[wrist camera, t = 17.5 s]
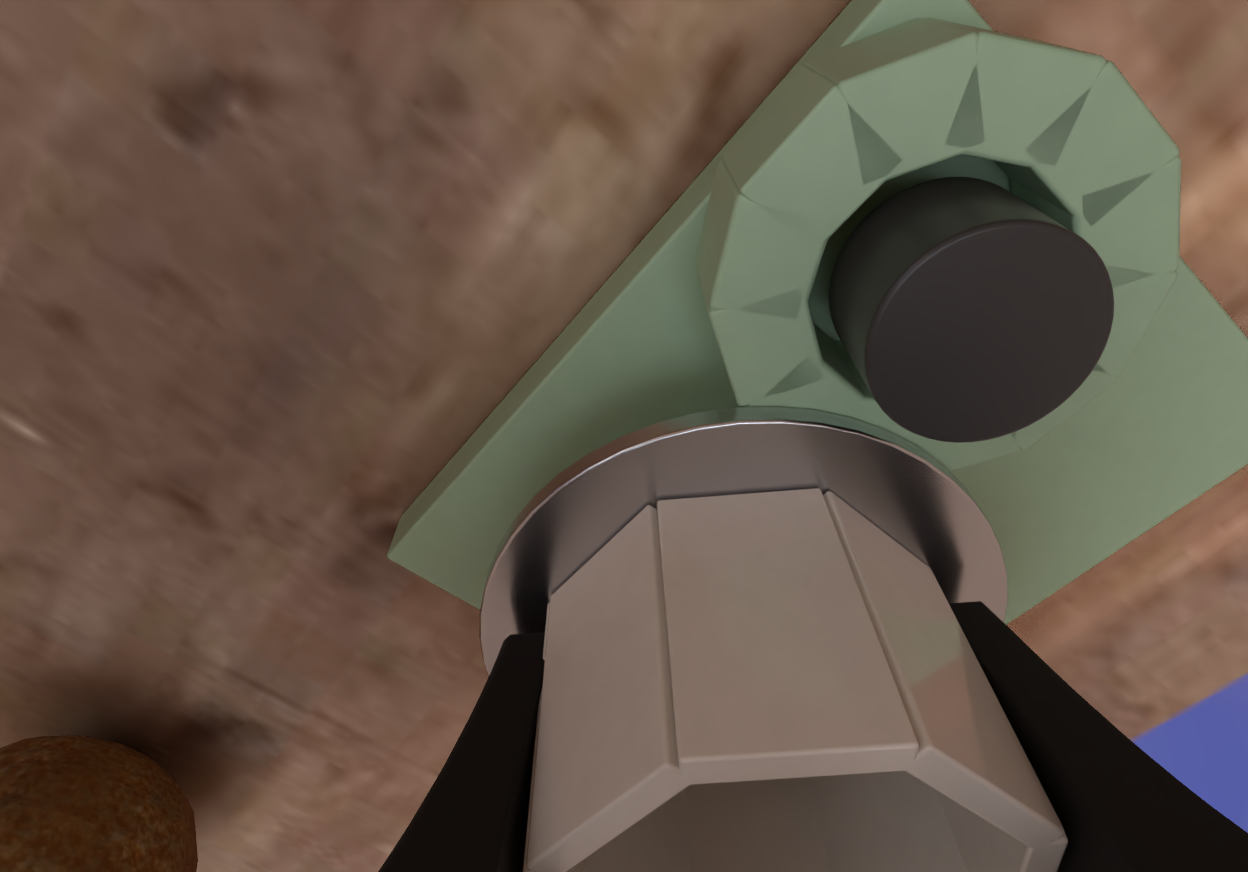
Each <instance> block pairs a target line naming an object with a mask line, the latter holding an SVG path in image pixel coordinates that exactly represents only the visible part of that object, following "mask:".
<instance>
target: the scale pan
mask: <svg viewBox="0 0 1248 872" xmlns="http://www.w3.org/2000/svg"><path fill="white" fill-rule="evenodd" d="M812 488H819V489H821V491H822V494H825V493H826V492H827V491H830V492H832V493H833V494H835V495H836V496H837V497H838V498H840V499H841V500H842V501H844V502H845V503H846V504H848V505H849V506H850V507H851V508H853V509H854V510H855V511H857V512H858V513H859V514H861V515H862V516H863V517H864V518H866V519H867V520H868V521H870V522H871V523H872V524H874V525H875V526H876V527H877V528H879V529H880V530H881V531H883V532H884V533H885V534H887V535H888V536H889V537H890V538H892V539H893V540H894V541H896V542H897V543H898V544H900V545H901V546H902V547H903V548H905V549H906V550H907V551H909V552H910V553H911V554H913V555H914V556H915V557H916V558H918V559H919V560H920V561H922V562H923V563H924V564H926V565H927V566H928V567H929V568H931V570H932V572H933V574H934V576H935V578H936V580H937V582H938V584H939V586H940V588H941V590H942V592H943V593H944V595H945V597H946V599H947V601H948V603H961V602H975V601H981V602H982V603H983V604H985V605H986V606H987V607H988V608H989V609H990V610H991V611H992V612H993V613H994V614H995V615H996V616H997V617H998V618H999V619H1000V620H1001V621H1002V622H1003V623H1004V622H1005V615H1006V608H1007V602H1008V592H1007V571H1006V567H1005V563H1004V558H1003V554H1002V550H1001V546H1000V544H999V542H998V540H997V537H996V535H995V533H994V531H993V529H992V526H991V524H990V522H989V521H988V519H987V518H986V516H985V514H984V513H983V511H982V510H981V508H980V507H979V506H978V504H977V503H976V501H975V500H974V498H973V497H972V495H971V494H970V493H969V491H968V490H967V488H966V487H965V486H964V485H963V484H962V483H961V482H960V481H959V480H958V479H957V478H956V477H955V476H954V475H953V474H952V473H951V472H950V471H949V470H948V469H947V468H946V467H945V466H944V465H943V464H942V463H940V462H939V461H938V460H936V459H935V458H934V457H932V456H931V455H929V454H928V453H927V452H925V451H924V450H922V449H921V448H920V447H918V446H917V445H915V444H913V443H911V442H909V441H907V440H905V439H903V438H901V437H899V436H897V435H895V434H893V433H891V432H889V431H888V430H885V429H882V428H879V427H876V426H874V425H871V424H868V423H865V422H862V421H859V420H857V419H854V418H850V417H846V416H841V415H836V414H832V413H827V412H822V411H818V410H811V409H800V408H789V407H778V406H767V407H734V408H727V409H719V410H712V411H705V412H697V413H693V414H689V415H685V416H681V417H677V418H673V419H669V420H665V421H661V422H658V423H655V424H652V425H650V426H647V427H644V428H642V429H639V430H636V431H634V432H631V433H628V434H626V435H623V436H621V437H619V438H617V439H615V440H613V441H611V442H609V443H607V444H605V445H603V446H601V447H600V448H598V449H596V450H594V451H592V452H590V453H588V454H587V455H585V456H584V457H582V458H581V459H579V460H578V461H576V462H575V463H574V464H572V465H571V466H569V467H568V468H566V469H565V470H563V471H562V472H560V473H559V474H558V475H557V476H556V477H555V478H554V479H552V480H551V481H550V482H549V483H548V484H547V485H546V486H545V487H544V488H542V489H541V490H540V491H539V492H538V493H537V494H536V495H535V496H534V497H533V498H532V499H531V500H530V501H529V503H528V504H527V505H526V506H525V507H524V509H523V510H522V511H521V512H520V513H519V515H518V516H517V517H516V518H515V519H514V521H513V522H512V524H511V525H510V527H509V529H508V530H507V532H506V534H505V535H504V537H503V539H502V540H501V542H500V544H499V545H498V548H497V550H496V553H495V555H494V558H493V560H492V563H491V565H490V568H489V570H488V574H487V579H486V583H485V588H484V593H483V598H482V603H481V608H480V632H479V637H480V643H481V649H482V655H483V661H484V663H485V666H486V669H487V672H488V675H490V673H491V671H492V668H493V666H494V664H495V661H496V659H497V657H498V654H499V651H500V649H501V646H502V644H503V641H504V640H505V639H506V638H507V637H508V636H509V635H511V634H525V633H540V632H545V625H546V614H547V605H548V603H550V597H551V595H552V594H553V593H554V592H555V591H557V590H558V589H559V588H560V587H561V586H562V585H563V584H564V583H565V582H566V581H567V580H568V579H569V578H570V577H571V576H572V575H574V574H575V573H576V572H577V571H578V570H579V569H580V568H581V567H582V566H583V565H584V564H585V563H586V562H587V561H588V560H590V559H591V558H592V557H593V556H594V555H595V554H596V553H597V552H598V551H599V550H600V549H601V548H602V547H603V546H604V545H606V544H607V543H608V542H609V541H610V540H611V539H612V538H613V537H614V536H615V535H616V534H617V533H618V532H619V531H620V530H622V529H623V528H624V527H625V526H626V525H627V524H628V523H629V522H630V521H631V520H632V519H633V518H634V517H635V516H636V515H637V514H639V513H640V512H641V511H642V510H643V509H644V508H645V507H646V506H647V505H651V506H653V507H654V508H656V509H657V505H656V504H657V502H658V501H659V500H667V499H680V498H694V497H707V496H720V495H733V494H746V493H759V492H772V491H785V490H799V489H812Z"/></svg>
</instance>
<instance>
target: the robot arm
mask: <svg viewBox="0 0 1248 872" xmlns="http://www.w3.org/2000/svg"><path fill="white" fill-rule="evenodd" d="M949 605H950V607H951V609H952V611H953V613H954V615H955V617H956V619H957V621H958V623H959V625H960V627H961V629H962V631H963V633H964V635H965V636H966V638H967V640H968V642H969V644H970V646H971V648H972V650H973V652H974V654H975V656H976V658H977V660H978V662H979V664H980V666H981V668H982V670H983V672H984V674H985V676H986V678H987V680H988V681H989V683H990V685H991V687H992V689H993V691H994V693H995V695H996V697H997V699H998V701H999V703H1000V705H1001V707H1002V709H1003V711H1004V713H1005V715H1006V717H1007V719H1008V721H1009V723H1010V724H1011V726H1012V728H1013V730H1014V732H1015V734H1016V736H1017V738H1018V740H1019V742H1020V744H1021V746H1022V748H1023V750H1024V752H1025V754H1026V756H1027V758H1028V760H1029V762H1030V764H1031V766H1032V768H1033V769H1034V771H1035V773H1036V775H1037V777H1038V779H1039V781H1040V783H1041V785H1042V787H1043V789H1044V791H1045V793H1046V795H1047V797H1048V799H1049V801H1050V803H1051V805H1052V807H1053V809H1054V811H1055V813H1056V814H1057V816H1058V818H1059V820H1060V822H1061V824H1062V826H1063V828H1064V830H1065V834H1066V836H1067V838H1068V845H1067V847H1066V850H1065V853H1064V855H1063V858H1062V861H1061V863H1060V866H1059V868H1058V871H1057V872H1248V833H1247V832H1245V831H1244V830H1243V829H1241V828H1240V827H1239V826H1237V825H1236V824H1234V823H1233V822H1232V821H1230V820H1229V819H1228V818H1226V817H1225V816H1223V815H1222V814H1221V813H1219V812H1218V811H1217V810H1215V809H1214V808H1213V807H1211V806H1210V805H1209V804H1207V803H1206V802H1205V801H1204V800H1202V799H1201V798H1200V797H1199V796H1197V795H1196V794H1195V793H1193V792H1192V791H1191V790H1189V789H1188V788H1187V787H1186V786H1185V785H1183V784H1182V783H1181V782H1180V781H1178V780H1177V779H1176V778H1175V777H1174V776H1172V775H1171V774H1170V773H1169V772H1167V771H1166V770H1165V769H1164V768H1163V767H1161V766H1160V765H1159V764H1158V763H1157V762H1155V761H1154V760H1153V759H1152V758H1150V757H1149V756H1148V755H1147V754H1146V753H1145V752H1143V751H1142V750H1141V749H1140V748H1139V747H1137V746H1136V745H1135V744H1134V743H1133V742H1132V741H1131V740H1129V739H1128V738H1127V737H1126V736H1125V735H1124V734H1123V733H1121V732H1120V731H1119V730H1118V729H1117V728H1116V727H1115V726H1113V725H1112V724H1111V723H1110V722H1109V721H1108V720H1107V719H1106V718H1105V717H1103V716H1102V715H1101V714H1100V713H1099V712H1098V711H1097V710H1096V709H1095V708H1093V707H1092V706H1091V705H1090V704H1089V703H1088V702H1087V701H1086V700H1085V699H1083V698H1082V697H1081V696H1080V695H1079V694H1078V693H1077V692H1076V691H1075V690H1074V689H1073V688H1071V687H1070V686H1069V685H1068V684H1067V683H1066V682H1065V681H1064V680H1063V679H1062V678H1061V677H1060V676H1059V675H1058V674H1056V673H1055V672H1054V671H1053V670H1052V669H1051V668H1050V667H1049V666H1048V665H1047V664H1046V663H1045V662H1044V661H1043V660H1042V659H1041V658H1040V657H1039V656H1038V655H1037V654H1035V653H1034V652H1033V651H1032V650H1031V649H1030V648H1029V647H1028V646H1027V645H1026V644H1025V643H1024V642H1023V641H1022V640H1021V639H1020V638H1019V637H1018V636H1017V635H1016V634H1015V633H1014V632H1013V631H1012V630H1011V629H1010V628H1009V627H1008V626H1007V625H1006V624H1005V623H1003V622H1002V621H1001V620H1000V619H999V618H998V617H997V616H996V615H995V614H994V613H993V612H992V611H991V610H990V609H989V608H988V607H987V606H986V605H985V604H983V603H982V602H981V601H975V602H961V603H949ZM544 635H545V632H540V633H525V634H511V635H509V636H508V637H507V638H506V639H505V640H504V641H503V644H502V646H501V649H500V651H499V654H498V657H497V659H496V661H495V664H494V666H493V668H492V671H491V673H490V675H489V678H488V680H487V682H486V684H485V686H484V689H483V691H482V693H481V695H480V697H479V699H478V701H477V703H476V705H475V707H474V709H473V712H472V714H471V716H470V718H469V720H468V722H467V723H466V725H465V727H464V729H463V731H462V733H461V735H460V737H459V739H458V741H457V742H456V744H455V746H454V748H453V750H452V752H451V754H450V756H449V758H448V759H447V761H446V763H445V765H444V767H443V769H442V770H441V772H440V774H439V776H438V777H437V779H436V781H435V782H434V784H433V786H432V787H431V789H430V791H429V792H428V794H427V796H426V797H425V799H424V801H423V802H422V804H421V806H420V808H419V809H418V811H417V813H416V814H415V816H414V818H413V819H412V821H411V823H410V824H409V826H408V827H407V829H406V831H405V832H404V834H403V835H402V837H401V838H400V840H399V841H398V843H397V845H396V846H395V848H394V849H393V851H392V852H391V854H390V855H389V857H388V858H387V860H386V861H385V863H384V864H383V866H382V867H381V869H380V870H379V871H378V872H523V861H524V850H525V839H526V829H527V818H528V807H529V796H530V786H531V775H532V764H533V754H534V743H535V732H536V721H537V713H538V706H539V700H540V695H541V690H542V684H543V673H544V661H545V660H544V659H543V646H544Z"/></svg>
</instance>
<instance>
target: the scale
mask: <svg viewBox="0 0 1248 872" xmlns="http://www.w3.org/2000/svg"><path fill="white" fill-rule="evenodd" d="M1179 153H1180V151H1179V148H1178V146H1177V145H1176V144H1175V142H1174V141H1173V140H1172V138H1171V137H1170V136H1169V135H1168V133H1167V132H1166V131H1165V129H1164V128H1163V127H1162V125H1161V124H1160V123H1159V122H1158V120H1157V119H1156V118H1155V116H1154V115H1153V114H1152V112H1151V111H1150V110H1149V109H1148V107H1147V106H1146V105H1145V103H1144V102H1143V101H1142V99H1141V98H1140V97H1139V96H1138V94H1137V93H1136V92H1135V90H1134V89H1133V88H1132V86H1131V85H1130V84H1129V83H1128V81H1127V80H1126V79H1125V77H1124V76H1123V75H1122V73H1121V72H1120V71H1119V70H1118V68H1117V67H1116V66H1115V64H1114V63H1113V62H1111V61H1109V60H1105V59H1104V58H1103V57H1102V56H1101V55H1097V54H1093V53H1088V52H1084V51H1080V50H1076V49H1071V48H1067V47H1063V46H1059V45H1054V44H1050V43H1046V42H1042V41H1037V40H1033V39H1029V38H1024V37H1019V36H1015V35H1010V34H1005V33H1000V32H996V31H993V30H992V28H991V27H990V26H989V25H988V24H987V22H986V21H985V20H984V19H983V18H982V16H981V15H980V14H979V13H978V12H977V10H976V9H975V8H974V7H973V6H972V4H971V3H970V2H969V1H968V0H852V1H851V2H850V3H849V4H848V5H847V6H846V7H845V9H844V10H843V11H842V12H841V13H840V14H839V15H838V17H837V18H836V19H835V20H834V21H833V22H832V23H831V25H830V26H829V27H828V28H827V29H826V30H825V31H824V33H823V34H822V35H821V36H820V37H819V38H818V39H817V41H816V42H815V43H814V44H813V45H812V46H811V47H810V49H809V50H808V51H807V52H806V53H805V54H804V55H803V57H802V58H801V59H800V60H799V61H798V62H797V63H796V65H795V66H794V67H793V68H792V69H791V70H790V72H789V73H788V74H787V75H786V76H785V77H784V78H783V80H782V81H781V82H780V83H779V84H778V85H777V86H776V88H775V89H774V90H773V91H772V92H771V93H770V94H769V96H768V97H767V98H766V99H765V100H764V101H763V102H762V104H761V105H760V106H759V107H758V108H757V109H756V110H755V112H754V113H753V114H752V115H751V116H750V117H749V118H748V120H747V121H746V122H745V123H744V124H743V125H742V126H741V128H740V129H739V130H738V131H737V132H736V133H735V134H734V136H733V137H732V138H731V139H730V140H729V141H728V142H727V144H726V145H725V146H724V147H723V148H722V149H721V151H720V152H719V153H718V154H717V155H716V156H715V157H714V159H713V160H712V161H711V162H710V163H709V164H708V165H707V167H706V168H705V169H704V170H703V171H702V172H701V173H700V175H699V176H698V177H697V178H696V179H695V180H694V181H693V183H692V184H691V185H690V186H689V187H688V188H687V189H686V191H685V192H684V193H683V194H682V195H681V196H680V197H679V199H678V200H677V201H676V202H675V203H674V204H673V205H672V207H671V208H670V209H669V210H668V211H667V212H666V213H665V215H664V216H663V217H662V218H661V219H660V220H659V221H658V223H657V224H656V225H655V226H654V227H653V228H652V230H651V231H650V232H649V233H648V234H647V235H646V236H645V238H644V239H643V240H642V241H641V242H640V243H639V244H638V246H637V247H636V248H635V249H634V250H633V251H632V252H631V254H630V255H629V256H628V257H627V258H626V259H625V260H624V262H623V263H622V264H621V265H620V266H619V267H618V268H617V270H616V271H615V272H614V273H613V274H612V275H611V276H610V278H609V279H608V280H607V281H606V282H605V283H604V284H603V286H602V287H601V288H600V289H599V290H598V291H597V292H596V294H595V295H594V296H593V297H592V298H591V299H590V300H589V302H588V303H587V304H586V305H585V306H584V307H583V309H582V310H581V311H580V312H579V313H578V314H577V315H576V317H575V318H574V319H573V320H572V321H571V322H570V323H569V325H568V326H567V327H566V328H565V329H564V330H563V331H562V333H561V334H560V335H559V336H558V337H557V338H556V339H555V341H554V342H553V343H552V344H551V345H550V346H549V347H548V349H547V350H546V351H545V352H544V353H543V354H542V355H541V357H540V358H539V359H538V360H537V361H536V362H535V363H534V365H533V366H532V367H531V368H530V369H529V370H528V371H527V373H526V374H525V375H524V376H523V377H522V378H521V379H520V381H519V382H518V383H517V384H516V385H515V386H514V388H513V389H512V390H511V391H510V392H509V393H508V394H507V396H506V397H505V398H504V399H503V400H502V401H501V402H500V404H499V405H498V406H497V407H496V408H495V409H494V410H493V412H492V413H491V414H490V415H489V416H488V417H487V418H486V420H485V421H484V422H483V423H482V424H481V425H480V426H479V428H478V429H477V430H476V431H475V432H474V433H473V434H472V436H471V437H470V438H469V439H468V440H467V441H466V442H465V444H464V445H463V446H462V447H461V448H460V449H459V450H458V452H457V453H456V454H455V455H454V456H453V457H452V458H451V460H450V461H449V462H448V463H447V464H446V465H445V467H444V468H443V469H442V470H441V471H440V472H439V473H438V475H437V476H436V477H435V478H434V479H433V480H432V481H431V483H430V484H429V485H428V486H427V487H426V488H425V489H424V491H423V492H422V493H421V494H420V495H419V496H418V497H417V499H416V500H415V501H414V502H413V503H412V504H411V505H410V507H409V508H408V509H407V510H406V511H405V512H404V513H403V515H402V516H401V518H400V520H399V523H398V526H397V529H396V531H395V534H394V537H393V540H392V542H391V545H390V548H389V551H388V554H387V558H388V559H390V560H392V561H393V562H395V563H397V564H399V565H401V566H402V567H404V568H406V569H408V570H409V571H411V572H413V573H415V574H417V575H418V576H420V577H422V578H424V579H426V580H427V581H429V582H431V583H433V584H435V585H436V586H438V587H440V588H442V589H443V590H445V591H447V592H449V593H451V594H452V595H454V596H456V597H458V598H460V599H461V600H463V601H465V602H467V603H468V604H470V605H472V606H474V607H476V608H477V609H479V610H480V608H481V603H482V598H483V593H484V588H485V583H486V579H487V574H488V570H489V568H490V565H491V563H492V560H493V558H494V555H495V553H496V550H497V548H498V545H499V544H500V542H501V540H502V539H503V537H504V535H505V534H506V532H507V530H508V529H509V527H510V525H511V524H512V522H513V521H514V519H515V518H516V517H517V516H518V515H519V513H520V512H521V511H522V510H523V509H524V507H525V506H526V505H527V504H528V503H529V501H530V500H531V499H532V498H533V497H534V496H535V495H536V494H537V493H538V492H539V491H540V490H541V489H542V488H544V487H545V486H546V485H547V484H548V483H549V482H550V481H551V480H552V479H554V478H555V477H556V476H557V475H558V474H559V473H560V472H562V471H563V470H565V469H566V468H568V467H569V466H571V465H572V464H574V463H575V462H576V461H578V460H579V459H581V458H582V457H584V456H585V455H587V454H588V453H590V452H592V451H594V450H596V449H598V448H600V447H601V446H603V445H605V444H607V443H609V442H611V441H613V440H615V439H617V438H619V437H621V436H623V435H626V434H628V433H631V432H634V431H636V430H639V429H642V428H644V427H647V426H650V425H652V424H655V423H658V422H661V421H665V420H669V419H673V418H677V417H681V416H685V415H689V414H693V413H697V412H705V411H712V410H719V409H727V408H734V407H767V406H778V407H789V408H800V409H811V410H818V411H822V412H827V413H832V414H836V415H841V416H846V417H850V418H854V419H857V420H859V421H862V422H865V423H868V424H871V425H874V426H876V427H879V428H882V429H885V430H888V431H889V432H891V433H893V434H895V435H897V436H899V437H901V438H903V439H905V440H907V441H909V442H911V443H913V444H915V445H917V446H918V447H920V448H921V449H922V450H924V451H925V452H927V453H928V454H929V455H931V456H932V457H934V458H935V459H936V460H938V461H939V462H940V463H942V464H943V465H944V466H945V467H946V468H947V469H948V470H949V471H950V472H951V473H952V474H953V475H954V476H955V477H956V478H957V479H958V480H959V481H960V482H961V483H962V484H963V485H964V486H965V487H966V488H967V490H968V491H969V493H970V494H971V495H972V497H973V498H974V500H975V501H976V503H977V504H978V506H979V507H980V508H981V510H982V511H983V513H984V514H985V516H986V518H987V519H988V521H989V522H990V524H991V526H992V529H993V531H994V533H995V535H996V537H997V540H998V542H999V544H1000V546H1001V550H1002V554H1003V558H1004V563H1005V567H1006V571H1007V592H1008V602H1007V608H1006V615H1005V622H1004V623H1005V624H1008V623H1009V622H1011V621H1012V620H1014V619H1016V618H1017V617H1019V616H1020V615H1022V614H1023V613H1025V612H1026V611H1028V610H1029V609H1031V608H1032V607H1034V606H1035V605H1037V604H1038V603H1040V602H1041V601H1043V600H1044V599H1046V598H1047V597H1049V596H1050V595H1052V594H1053V593H1055V592H1056V591H1058V590H1059V589H1061V588H1062V587H1064V586H1065V585H1067V584H1068V583H1070V582H1071V581H1073V580H1074V579H1076V578H1077V577H1079V576H1080V575H1082V574H1083V573H1085V572H1086V571H1088V570H1089V569H1091V568H1092V567H1094V566H1095V565H1097V564H1098V563H1100V562H1101V561H1103V560H1104V559H1106V558H1107V557H1109V556H1110V555H1112V554H1113V553H1115V552H1116V551H1118V550H1119V549H1121V548H1122V547H1124V546H1125V545H1127V544H1128V543H1130V542H1131V541H1133V540H1134V539H1136V538H1137V537H1139V536H1140V535H1142V534H1143V533H1145V532H1146V531H1148V530H1149V529H1151V528H1152V527H1154V526H1155V525H1157V524H1158V523H1160V522H1161V521H1163V520H1164V519H1166V518H1167V517H1169V516H1170V515H1172V514H1173V513H1175V512H1176V511H1178V510H1179V509H1181V508H1182V507H1184V506H1185V505H1187V504H1188V503H1190V502H1191V501H1193V500H1194V499H1196V498H1197V497H1199V496H1200V495H1202V494H1203V493H1205V492H1206V491H1208V490H1209V489H1211V488H1212V487H1214V486H1215V485H1217V484H1218V483H1220V482H1221V481H1223V480H1224V479H1226V478H1227V477H1229V476H1230V475H1232V474H1233V473H1235V472H1236V471H1238V470H1239V469H1241V468H1242V467H1244V466H1245V465H1247V464H1248V338H1247V336H1246V335H1245V334H1244V333H1243V332H1242V330H1241V329H1240V328H1239V327H1238V326H1237V324H1236V323H1235V322H1234V321H1233V320H1232V318H1231V317H1230V316H1229V315H1228V313H1227V312H1226V311H1225V310H1224V309H1223V307H1222V306H1221V305H1220V304H1219V303H1218V301H1217V300H1216V299H1215V298H1214V297H1213V295H1212V294H1211V293H1210V292H1209V291H1208V289H1207V288H1206V287H1205V286H1204V284H1203V283H1202V282H1201V281H1200V280H1199V278H1198V277H1197V276H1196V275H1195V274H1194V272H1193V271H1192V270H1191V269H1190V268H1189V266H1188V265H1187V264H1186V263H1185V262H1184V260H1183V259H1182V258H1181V257H1180V256H1179V245H1180V190H1181V160H1180V158H1179V156H1178V155H1179ZM946 177H969V178H977V179H981V180H985V181H989V182H992V183H994V184H996V185H998V186H1001V187H1003V188H1004V189H1006V190H1008V191H1009V192H1011V193H1012V194H1014V195H1016V196H1017V197H1019V198H1020V199H1022V200H1023V201H1025V202H1027V203H1028V204H1030V205H1031V206H1033V207H1035V208H1036V209H1038V210H1039V211H1041V212H1043V213H1044V214H1046V215H1047V216H1049V217H1050V218H1052V219H1054V220H1055V221H1057V222H1058V223H1060V224H1062V225H1063V226H1065V227H1066V228H1068V229H1070V230H1071V231H1073V232H1074V233H1076V234H1077V235H1079V236H1080V237H1082V238H1083V239H1084V240H1086V241H1087V242H1088V243H1089V244H1090V245H1091V246H1092V247H1093V248H1094V249H1095V251H1096V252H1097V253H1098V255H1099V256H1100V257H1101V259H1102V260H1103V262H1104V264H1105V266H1106V269H1107V271H1108V273H1109V276H1110V280H1111V283H1112V287H1113V296H1114V317H1113V322H1112V327H1111V332H1110V335H1109V338H1108V341H1107V344H1106V346H1105V349H1104V351H1103V353H1102V355H1101V357H1100V359H1099V361H1098V362H1097V364H1096V365H1095V367H1094V369H1093V370H1092V372H1091V373H1090V375H1089V376H1088V377H1087V378H1086V380H1085V381H1084V382H1083V383H1082V385H1081V386H1080V387H1079V388H1078V389H1077V390H1076V391H1075V392H1074V393H1073V394H1072V395H1071V396H1070V397H1069V398H1068V399H1067V400H1066V401H1065V402H1063V403H1062V404H1061V405H1060V406H1059V407H1058V408H1056V409H1055V410H1053V411H1052V412H1050V413H1049V414H1048V415H1046V416H1045V417H1043V418H1041V419H1040V420H1038V421H1036V422H1034V423H1033V424H1031V425H1029V426H1027V427H1025V428H1022V429H1020V430H1018V431H1016V432H1013V433H1010V434H1007V435H1004V436H1001V437H998V438H993V439H989V440H984V441H977V442H963V443H954V442H943V441H938V440H933V439H928V438H926V437H923V436H920V435H917V434H914V433H912V432H910V431H908V430H906V429H904V428H903V427H901V426H900V425H898V424H897V423H896V422H894V421H893V420H891V419H890V418H889V417H888V416H887V415H886V414H885V413H884V412H883V410H882V409H881V408H880V406H879V405H878V404H877V402H876V401H875V399H874V397H873V396H872V394H871V392H870V390H869V389H868V387H867V385H866V384H865V382H864V380H863V378H862V377H861V375H860V373H859V371H858V370H857V368H856V366H855V365H854V363H853V361H852V359H851V358H850V356H849V354H848V352H847V351H846V349H845V347H844V345H843V344H842V342H841V340H840V339H839V337H838V335H837V333H836V330H835V328H834V325H833V322H832V319H831V315H830V308H829V287H830V280H831V276H832V272H833V268H834V265H835V263H836V260H837V258H838V255H839V253H840V251H841V249H842V247H843V246H844V244H845V242H846V240H847V239H848V237H849V236H850V235H851V233H852V232H853V230H854V229H855V228H856V227H857V225H858V224H859V223H860V222H861V221H862V220H863V219H864V218H865V217H866V216H867V215H868V214H869V213H870V212H871V211H872V210H873V209H875V208H876V207H877V206H878V205H880V204H881V203H882V202H884V201H885V200H887V199H888V198H890V197H891V196H893V195H895V194H897V193H899V192H900V191H902V190H904V189H906V188H909V187H911V186H914V185H916V184H919V183H922V182H926V181H929V180H933V179H939V178H946Z"/></svg>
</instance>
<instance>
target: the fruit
mask: <svg viewBox="0 0 1248 872" xmlns="http://www.w3.org/2000/svg"><path fill="white" fill-rule="evenodd" d="M197 862H198V857H197V844H196V831H195V820H194V812H193V810H192V808H191V806H190V804H189V803H188V801H187V799H186V797H185V795H184V793H183V791H182V789H181V788H180V786H179V785H178V783H177V782H176V780H175V779H174V777H173V776H171V775H170V774H169V773H168V772H166V771H165V770H164V769H163V768H161V767H160V766H159V765H158V764H156V763H155V762H154V761H153V760H152V759H150V758H149V757H147V756H146V755H144V754H142V753H140V752H138V751H135V750H134V749H133V748H131V747H128V746H126V745H124V744H122V743H118V742H113V741H108V740H102V739H97V738H92V737H83V736H79V735H73V736H43V737H36V738H30V739H24V740H21V741H18V742H15V743H13V744H10V745H7V746H4V747H2V748H0V872H196V869H197Z"/></svg>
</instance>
